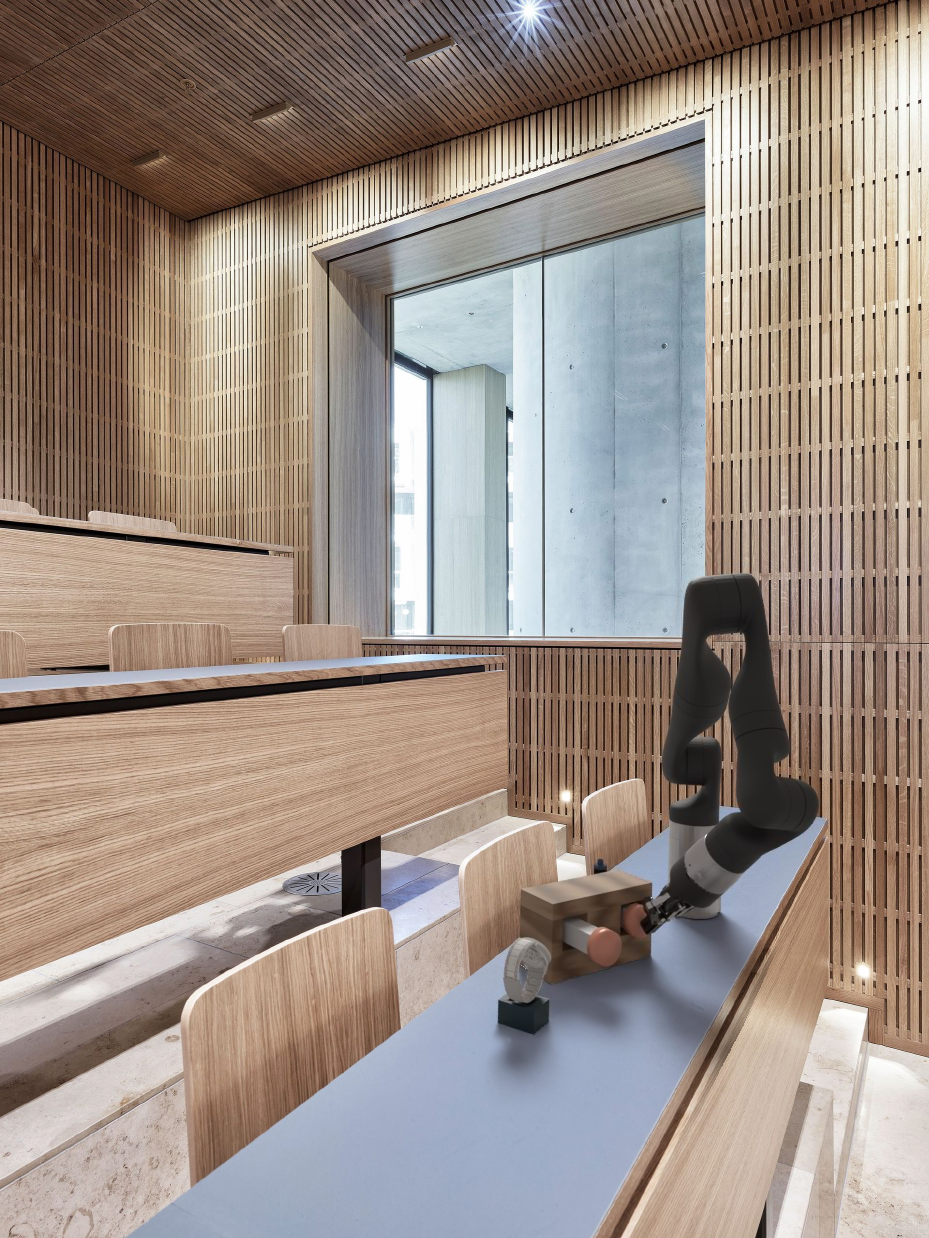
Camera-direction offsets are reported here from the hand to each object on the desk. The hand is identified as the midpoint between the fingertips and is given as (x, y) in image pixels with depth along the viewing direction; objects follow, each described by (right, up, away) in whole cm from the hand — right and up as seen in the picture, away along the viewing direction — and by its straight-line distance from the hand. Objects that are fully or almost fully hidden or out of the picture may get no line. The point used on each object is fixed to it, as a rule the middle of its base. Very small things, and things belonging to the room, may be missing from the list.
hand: (646, 928), depth 126 cm
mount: (-9, -6, +2) cm, 11 cm away
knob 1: (-11, -1, -6) cm, 12 cm away
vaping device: (-6, -7, +18) cm, 20 cm away
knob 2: (-3, -2, +5) cm, 6 cm away
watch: (-21, -6, -18) cm, 28 cm away
